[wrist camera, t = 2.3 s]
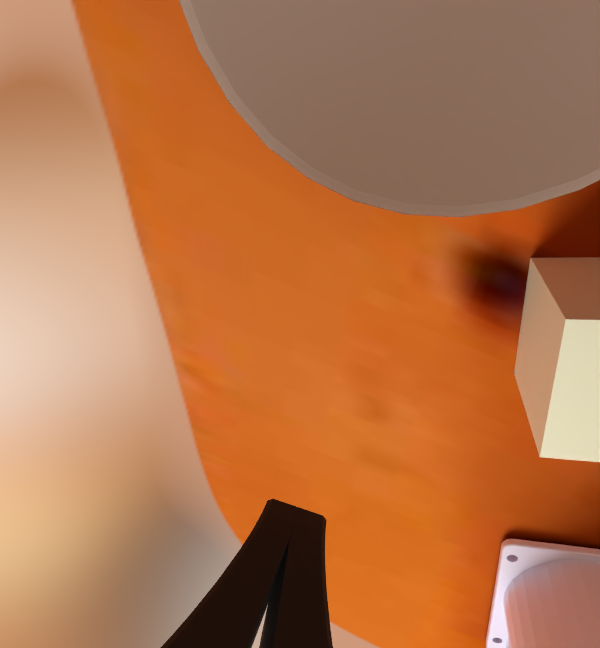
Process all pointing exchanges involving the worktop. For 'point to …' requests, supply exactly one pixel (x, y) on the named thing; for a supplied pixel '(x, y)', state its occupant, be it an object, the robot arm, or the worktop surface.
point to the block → (562, 357)
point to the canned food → (416, 95)
